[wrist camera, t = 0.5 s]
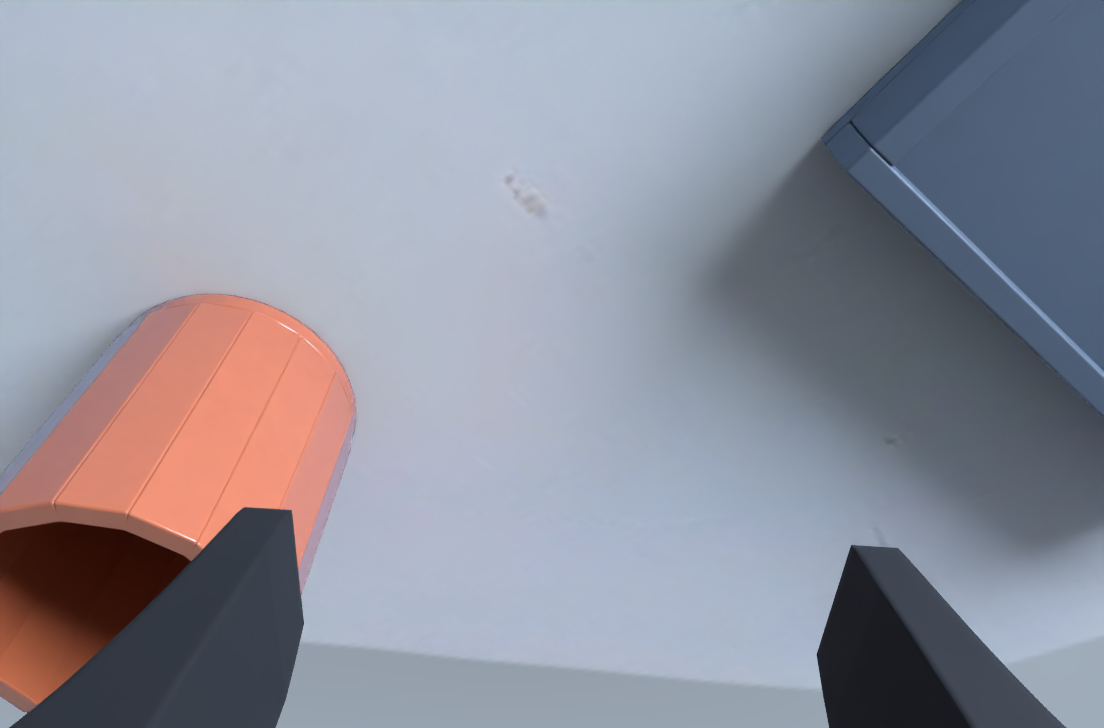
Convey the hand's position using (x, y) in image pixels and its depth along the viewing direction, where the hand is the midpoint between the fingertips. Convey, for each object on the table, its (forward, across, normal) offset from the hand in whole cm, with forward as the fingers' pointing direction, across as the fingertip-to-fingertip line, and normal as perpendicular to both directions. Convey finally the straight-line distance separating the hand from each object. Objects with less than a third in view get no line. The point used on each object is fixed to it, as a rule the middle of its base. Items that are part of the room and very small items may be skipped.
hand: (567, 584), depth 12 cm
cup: (+9, +8, +4) cm, 12 cm away
